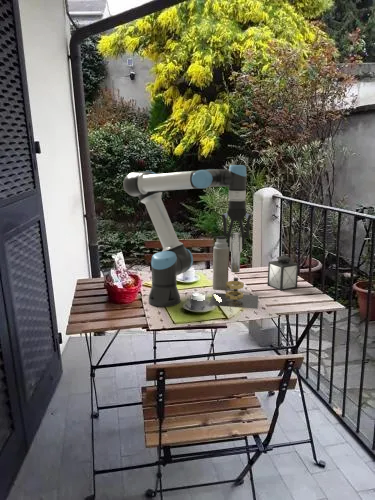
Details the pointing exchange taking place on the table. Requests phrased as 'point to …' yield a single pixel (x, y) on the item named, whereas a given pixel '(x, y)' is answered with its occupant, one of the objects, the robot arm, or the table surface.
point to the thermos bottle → (220, 263)
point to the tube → (235, 253)
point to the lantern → (282, 273)
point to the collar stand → (235, 297)
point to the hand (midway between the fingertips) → (235, 251)
